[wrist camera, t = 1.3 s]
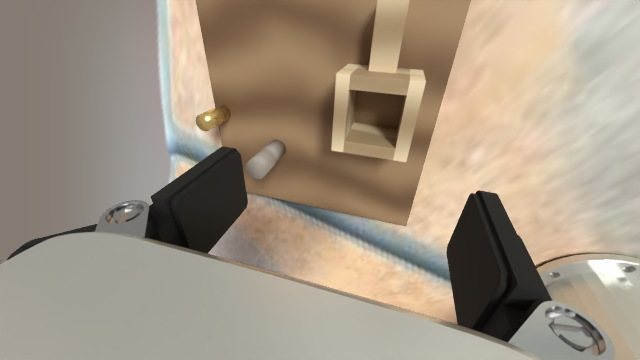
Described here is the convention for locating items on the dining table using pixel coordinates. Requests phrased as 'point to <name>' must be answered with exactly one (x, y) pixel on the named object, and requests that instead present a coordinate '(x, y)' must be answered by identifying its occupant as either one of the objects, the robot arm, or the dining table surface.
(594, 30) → the dining table surface
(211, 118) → the dowel pin
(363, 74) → the square frame with tab
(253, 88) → the board
